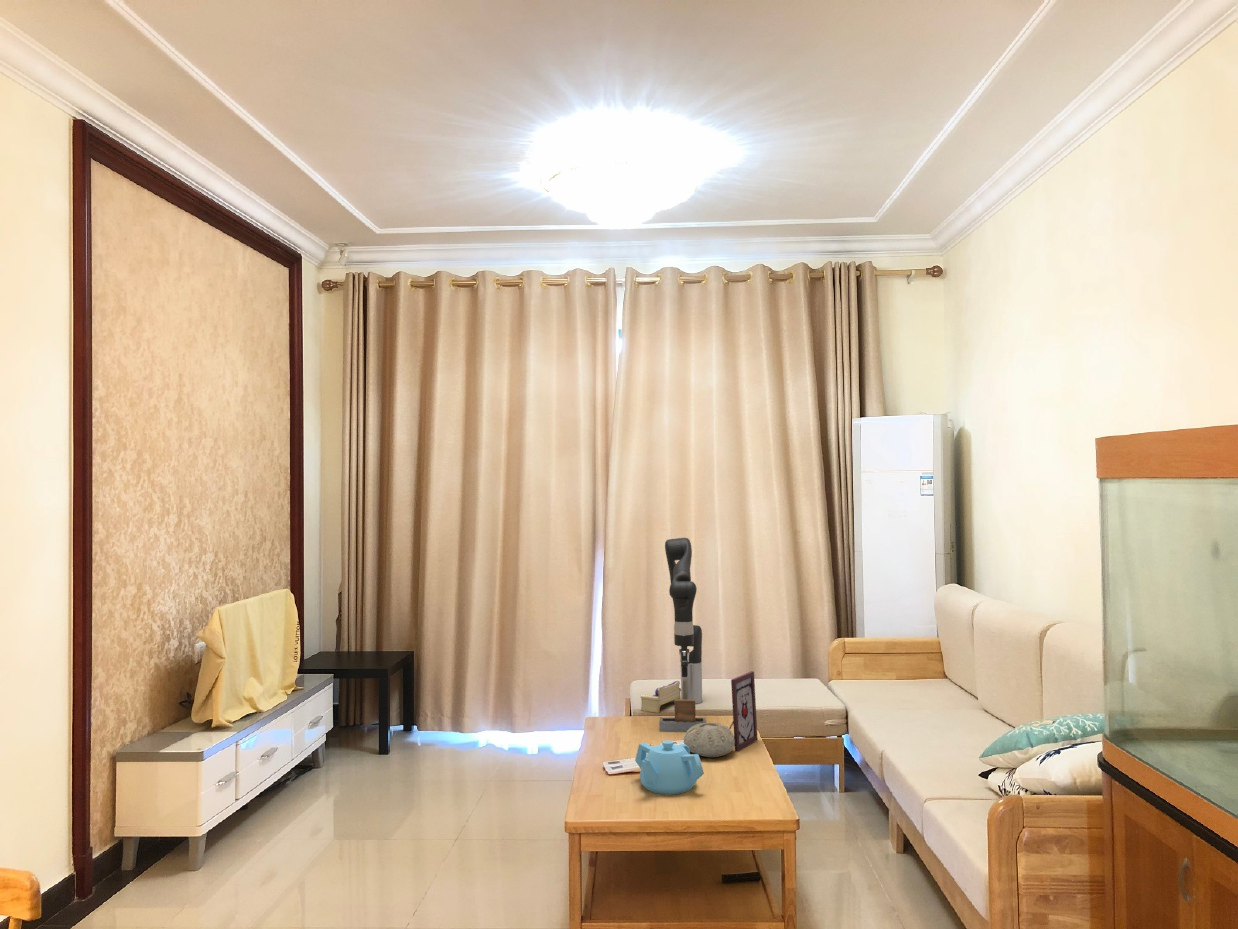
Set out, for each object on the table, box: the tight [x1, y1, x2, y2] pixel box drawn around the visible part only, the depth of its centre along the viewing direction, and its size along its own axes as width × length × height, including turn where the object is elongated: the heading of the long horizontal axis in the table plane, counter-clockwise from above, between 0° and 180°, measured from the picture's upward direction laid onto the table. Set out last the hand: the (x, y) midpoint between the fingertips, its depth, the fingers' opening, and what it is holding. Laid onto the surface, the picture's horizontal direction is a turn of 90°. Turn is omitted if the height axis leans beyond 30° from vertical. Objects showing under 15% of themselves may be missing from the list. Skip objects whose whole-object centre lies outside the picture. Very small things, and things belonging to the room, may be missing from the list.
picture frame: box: [728, 670, 758, 753], centre depth 307 cm, size 17×10×25 cm, turn 146°
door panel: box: [674, 698, 697, 722], centre depth 327 cm, size 3×8×10 cm, turn 86°
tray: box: [658, 716, 707, 733], centre depth 327 cm, size 7×18×4 cm, turn 86°
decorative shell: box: [683, 721, 735, 758], centre depth 295 cm, size 18×18×10 cm
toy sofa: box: [640, 680, 681, 714], centre depth 362 cm, size 21×9×10 cm, turn 148°
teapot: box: [634, 740, 705, 795], centre depth 263 cm, size 19×19×14 cm
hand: (684, 674), depth 329 cm, fingers open, 8 cm apart
